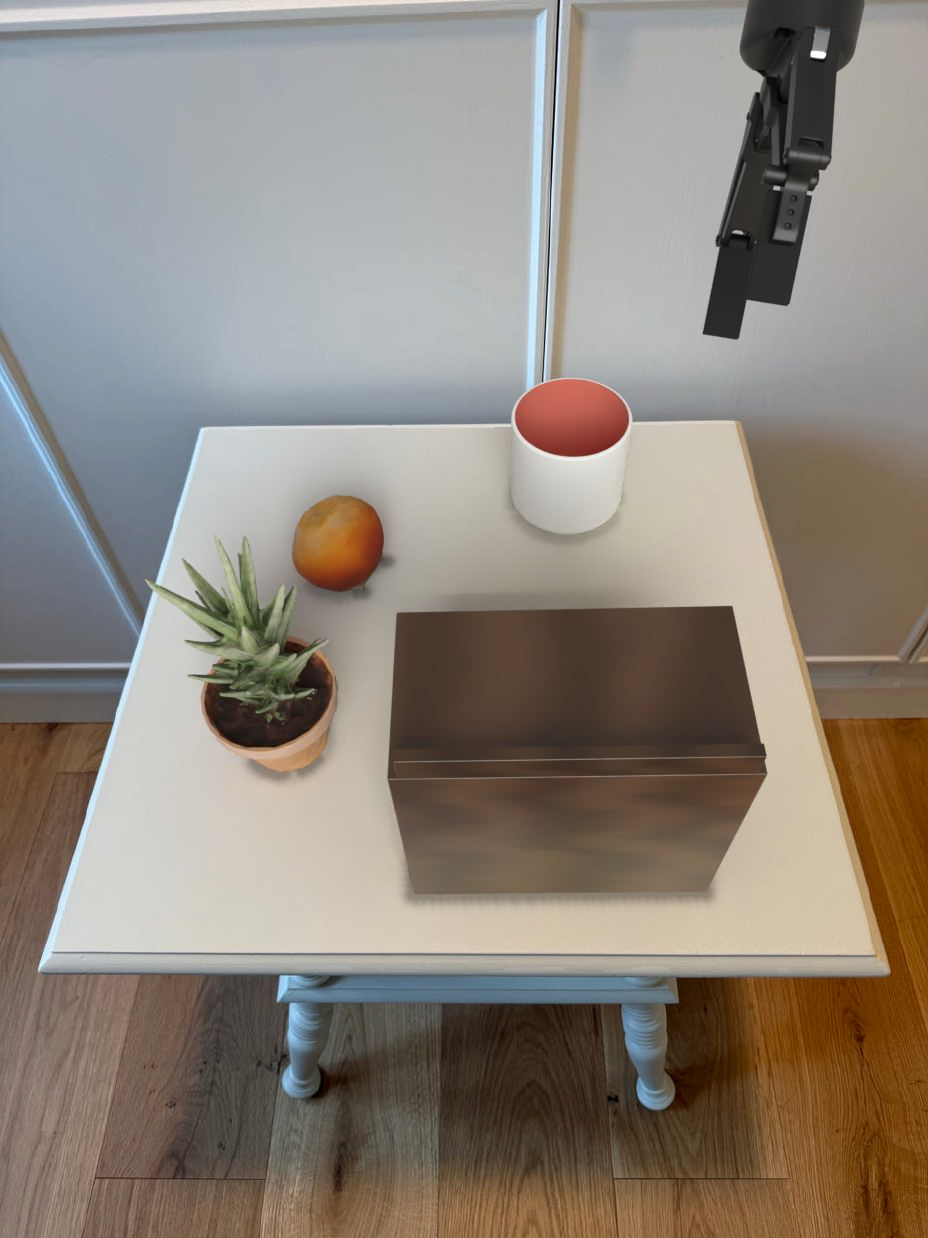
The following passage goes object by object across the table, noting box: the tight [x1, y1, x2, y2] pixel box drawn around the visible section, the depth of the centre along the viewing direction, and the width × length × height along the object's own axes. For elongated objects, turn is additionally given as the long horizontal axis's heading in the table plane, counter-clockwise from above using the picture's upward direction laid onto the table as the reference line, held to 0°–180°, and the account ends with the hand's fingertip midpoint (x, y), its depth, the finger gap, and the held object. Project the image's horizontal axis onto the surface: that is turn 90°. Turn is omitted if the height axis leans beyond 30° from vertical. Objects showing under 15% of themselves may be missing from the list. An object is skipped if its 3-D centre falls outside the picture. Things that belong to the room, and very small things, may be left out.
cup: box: [510, 377, 634, 535], centre depth 80 cm, size 10×10×10 cm
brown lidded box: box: [386, 605, 768, 895], centre depth 58 cm, size 20×11×20 cm, turn 90°
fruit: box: [291, 494, 389, 593], centre depth 78 cm, size 8×8×8 cm
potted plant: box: [144, 533, 339, 773], centre depth 61 cm, size 10×10×25 cm
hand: (741, 321), depth 65 cm, fingers open, 13 cm apart
